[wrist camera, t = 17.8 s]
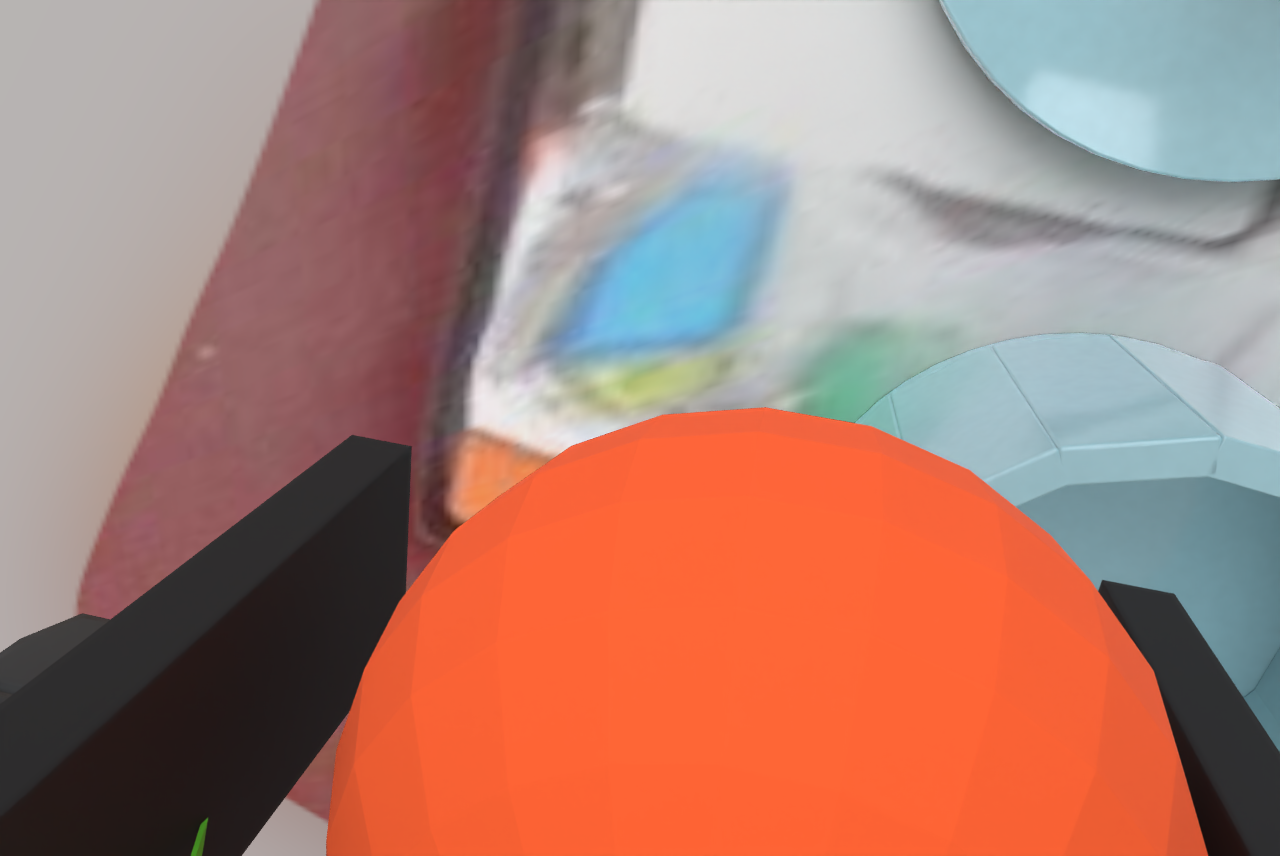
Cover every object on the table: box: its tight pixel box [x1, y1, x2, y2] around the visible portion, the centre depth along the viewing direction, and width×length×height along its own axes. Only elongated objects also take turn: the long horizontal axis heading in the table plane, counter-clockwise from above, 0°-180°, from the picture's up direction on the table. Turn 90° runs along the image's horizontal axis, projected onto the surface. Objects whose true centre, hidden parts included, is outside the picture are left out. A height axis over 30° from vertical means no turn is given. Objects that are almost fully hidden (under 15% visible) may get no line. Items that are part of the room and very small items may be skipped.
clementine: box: [191, 407, 1208, 856], centre depth 8 cm, size 8×7×7 cm
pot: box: [855, 333, 1280, 752], centre depth 23 cm, size 14×14×8 cm
